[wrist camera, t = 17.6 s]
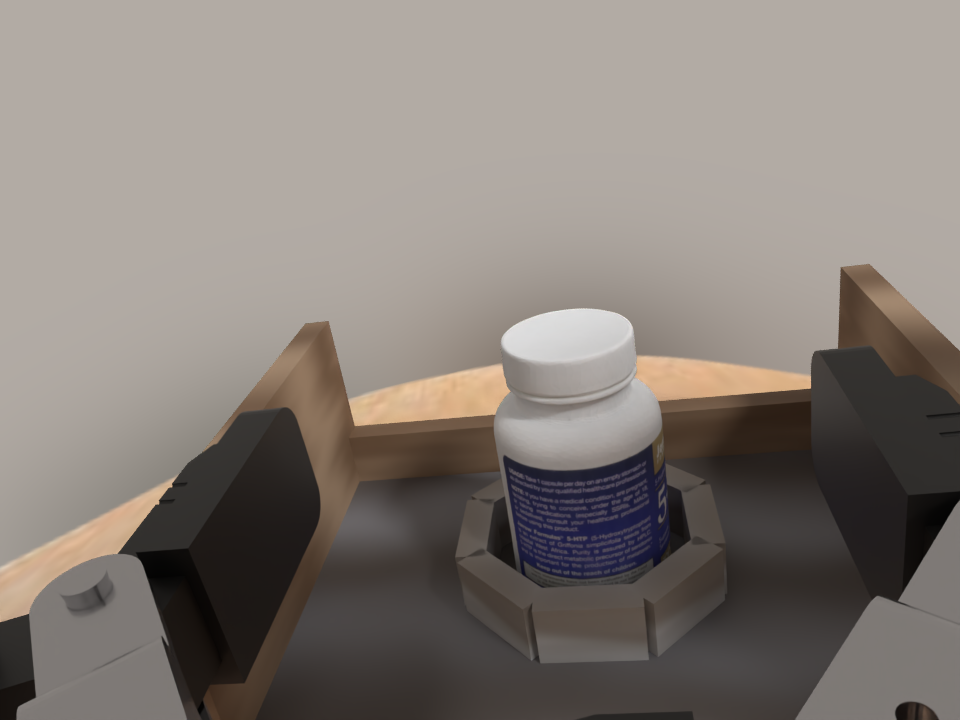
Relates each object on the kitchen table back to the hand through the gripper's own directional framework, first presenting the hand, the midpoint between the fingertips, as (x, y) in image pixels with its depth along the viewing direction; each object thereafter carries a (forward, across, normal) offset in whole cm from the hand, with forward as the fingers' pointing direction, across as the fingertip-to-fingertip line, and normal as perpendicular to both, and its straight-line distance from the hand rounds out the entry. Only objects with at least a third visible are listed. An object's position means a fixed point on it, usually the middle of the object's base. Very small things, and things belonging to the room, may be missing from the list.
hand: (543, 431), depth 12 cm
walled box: (+11, 0, +13) cm, 17 cm away
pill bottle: (+11, 0, +12) cm, 17 cm away
